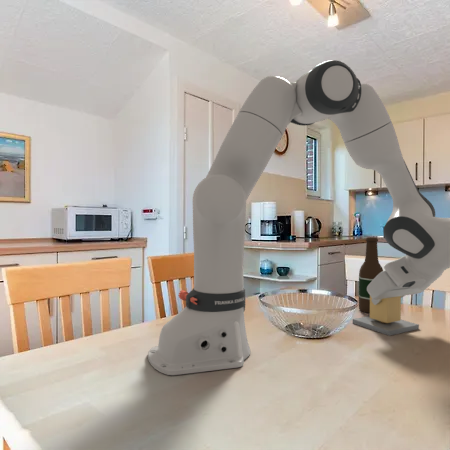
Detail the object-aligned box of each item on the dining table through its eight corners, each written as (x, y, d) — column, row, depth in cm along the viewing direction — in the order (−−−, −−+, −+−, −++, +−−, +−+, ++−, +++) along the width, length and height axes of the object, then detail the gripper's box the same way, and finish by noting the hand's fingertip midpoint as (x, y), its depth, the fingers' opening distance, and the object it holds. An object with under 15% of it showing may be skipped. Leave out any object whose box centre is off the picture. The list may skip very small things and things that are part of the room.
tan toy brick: (386, 323, 94) (387, 288, 94) (369, 317, 99) (370, 285, 99) (400, 320, 97) (400, 287, 96) (383, 315, 102) (383, 283, 101)
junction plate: (389, 335, 90) (389, 319, 90) (352, 323, 100) (352, 308, 100) (418, 328, 95) (419, 313, 95) (381, 317, 106) (381, 304, 106)
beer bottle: (385, 309, 115) (386, 237, 115) (382, 315, 109) (383, 238, 108) (360, 306, 119) (361, 236, 119) (356, 311, 113) (356, 237, 112)
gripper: (432, 259, 96) (400, 288, 105) (382, 263, 87) (351, 295, 96) (449, 278, 92) (414, 306, 101) (398, 284, 83) (364, 315, 92)
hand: (383, 301), depth 98 cm, fingers closed on tan toy brick, 5 cm apart
